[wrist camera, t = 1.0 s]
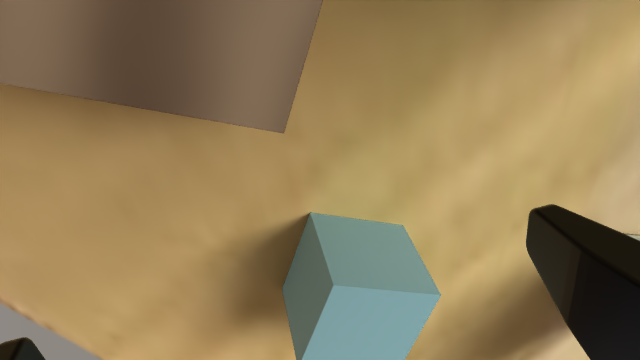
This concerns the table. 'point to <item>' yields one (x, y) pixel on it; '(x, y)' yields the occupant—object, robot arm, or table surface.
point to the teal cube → (356, 291)
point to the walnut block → (164, 54)
